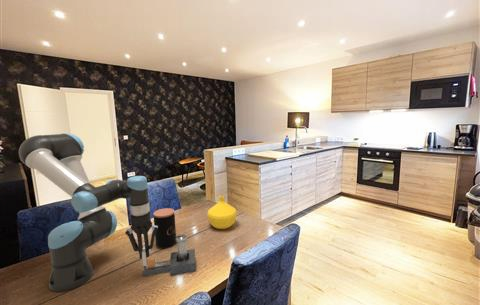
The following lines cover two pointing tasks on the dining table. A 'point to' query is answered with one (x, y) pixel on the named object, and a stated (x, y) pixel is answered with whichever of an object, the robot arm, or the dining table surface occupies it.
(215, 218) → the vase
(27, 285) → the dining table surface
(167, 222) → the coffee jar
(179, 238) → the peg
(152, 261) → the bolt
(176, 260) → the dock
